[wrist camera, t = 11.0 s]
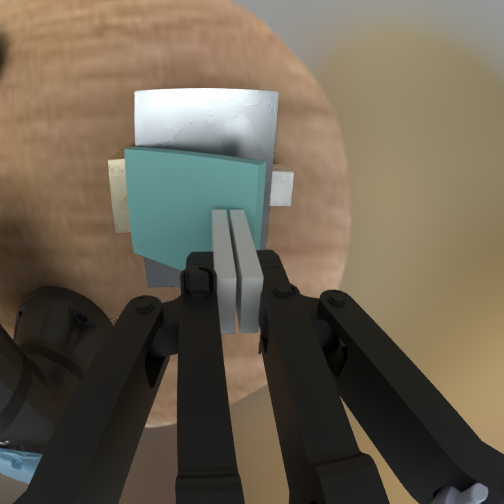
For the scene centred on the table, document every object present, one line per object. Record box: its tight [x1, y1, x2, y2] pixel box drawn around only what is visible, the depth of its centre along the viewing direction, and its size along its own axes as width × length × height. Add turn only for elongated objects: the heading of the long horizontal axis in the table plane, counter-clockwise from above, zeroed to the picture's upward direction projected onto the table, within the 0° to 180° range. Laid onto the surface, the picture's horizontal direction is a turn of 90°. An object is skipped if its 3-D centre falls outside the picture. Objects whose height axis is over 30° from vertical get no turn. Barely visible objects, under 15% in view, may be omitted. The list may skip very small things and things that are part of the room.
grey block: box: [135, 88, 279, 287], centre depth 26 cm, size 10×16×8 cm, turn 177°
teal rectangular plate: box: [124, 147, 266, 271], centre depth 19 cm, size 10×8×1 cm
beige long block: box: [108, 146, 294, 233], centre depth 26 cm, size 15×6×6 cm, turn 87°
